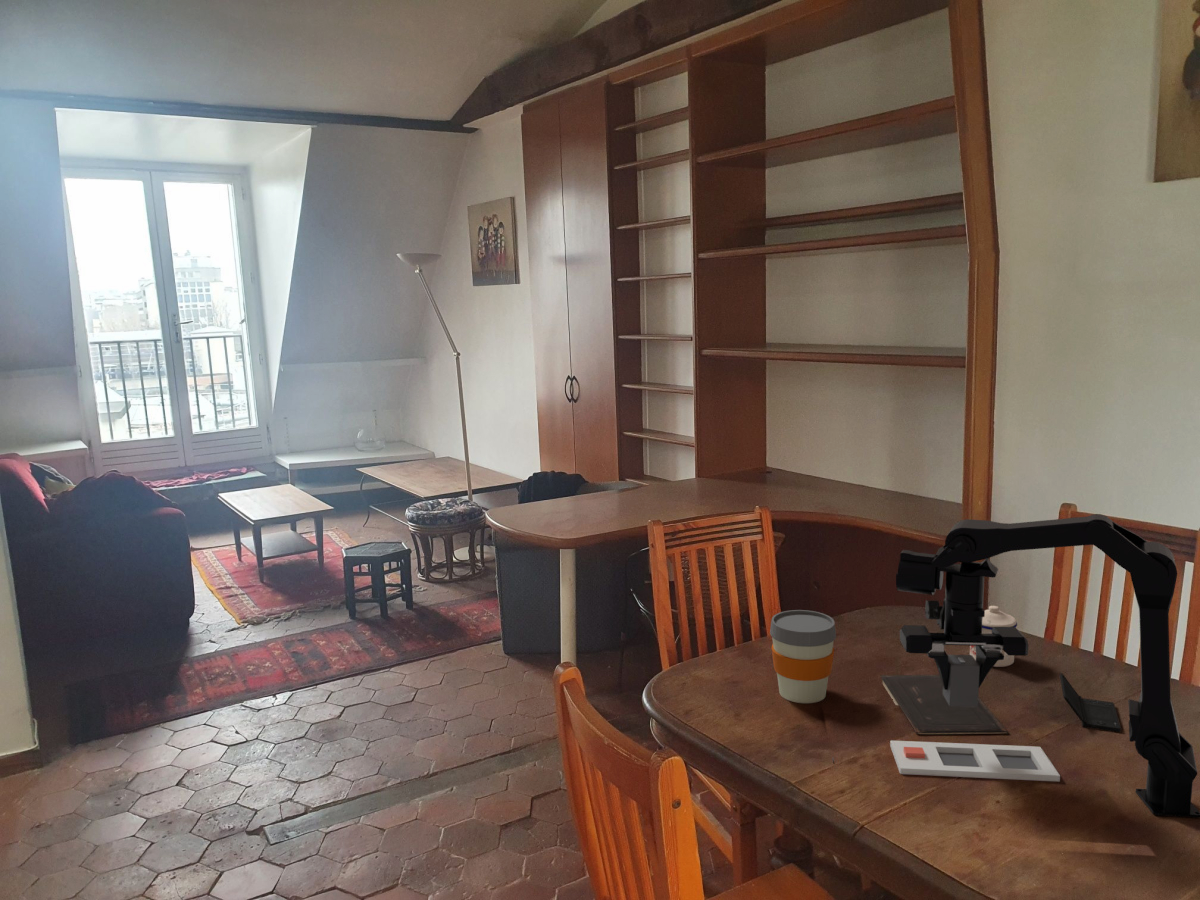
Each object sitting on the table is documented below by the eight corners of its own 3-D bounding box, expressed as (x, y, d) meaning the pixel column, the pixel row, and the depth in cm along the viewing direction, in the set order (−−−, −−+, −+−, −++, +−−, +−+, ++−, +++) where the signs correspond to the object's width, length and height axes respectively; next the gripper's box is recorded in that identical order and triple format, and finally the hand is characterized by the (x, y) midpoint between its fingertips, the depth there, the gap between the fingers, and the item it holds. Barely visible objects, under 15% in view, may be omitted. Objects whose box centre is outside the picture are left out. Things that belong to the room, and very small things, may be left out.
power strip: (1059, 787, 136) (1060, 771, 135) (836, 776, 141) (836, 760, 140) (1039, 757, 144) (1040, 742, 144) (830, 748, 150) (830, 733, 149)
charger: (977, 706, 141) (979, 665, 139) (949, 706, 141) (951, 664, 140) (970, 694, 145) (971, 654, 144) (942, 693, 145) (944, 654, 144)
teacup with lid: (961, 651, 188) (963, 600, 186) (1002, 650, 188) (1004, 598, 186) (986, 674, 176) (988, 620, 174) (1030, 673, 176) (1033, 618, 174)
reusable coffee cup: (802, 674, 180) (802, 605, 177) (849, 696, 169) (850, 623, 167) (756, 690, 173) (756, 618, 170) (802, 713, 162) (803, 638, 160)
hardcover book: (916, 743, 151) (916, 731, 151) (880, 685, 174) (880, 675, 174) (1009, 742, 151) (1010, 730, 150) (961, 685, 173) (961, 674, 173)
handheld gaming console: (1134, 725, 151) (1096, 677, 152) (1097, 746, 153) (1060, 699, 154) (1114, 704, 162) (1079, 660, 164) (1080, 725, 164) (1045, 681, 165)
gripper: (1008, 583, 147) (1004, 670, 149) (894, 582, 149) (892, 667, 152) (1031, 606, 136) (1026, 699, 138) (908, 604, 138) (905, 695, 141)
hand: (960, 689), depth 143 cm, fingers closed on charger, 4 cm apart
